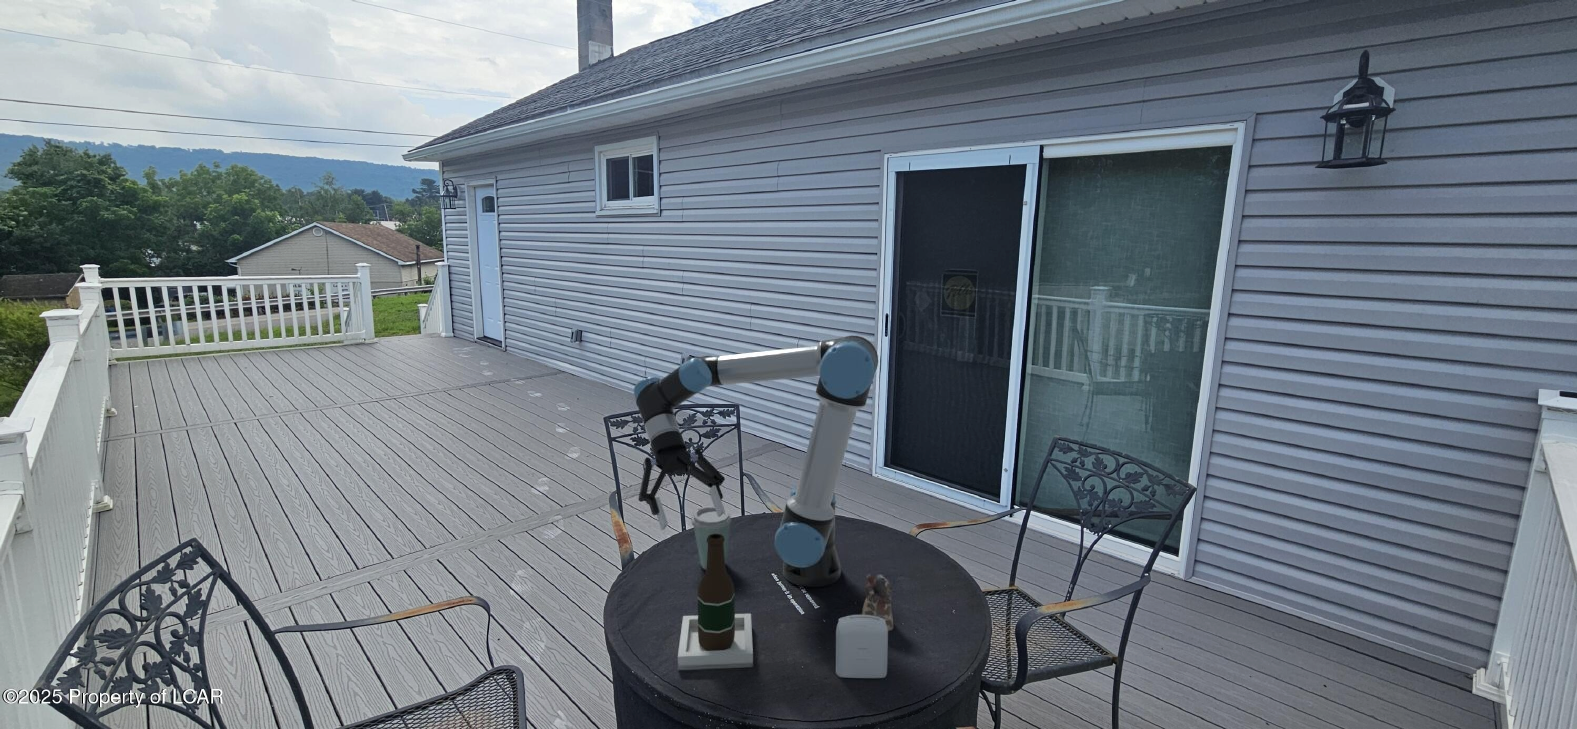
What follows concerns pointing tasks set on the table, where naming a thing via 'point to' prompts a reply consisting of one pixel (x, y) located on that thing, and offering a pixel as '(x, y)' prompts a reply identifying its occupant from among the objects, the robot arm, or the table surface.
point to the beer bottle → (716, 600)
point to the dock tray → (699, 658)
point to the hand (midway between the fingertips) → (693, 520)
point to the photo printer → (861, 647)
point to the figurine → (879, 599)
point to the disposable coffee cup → (710, 529)
